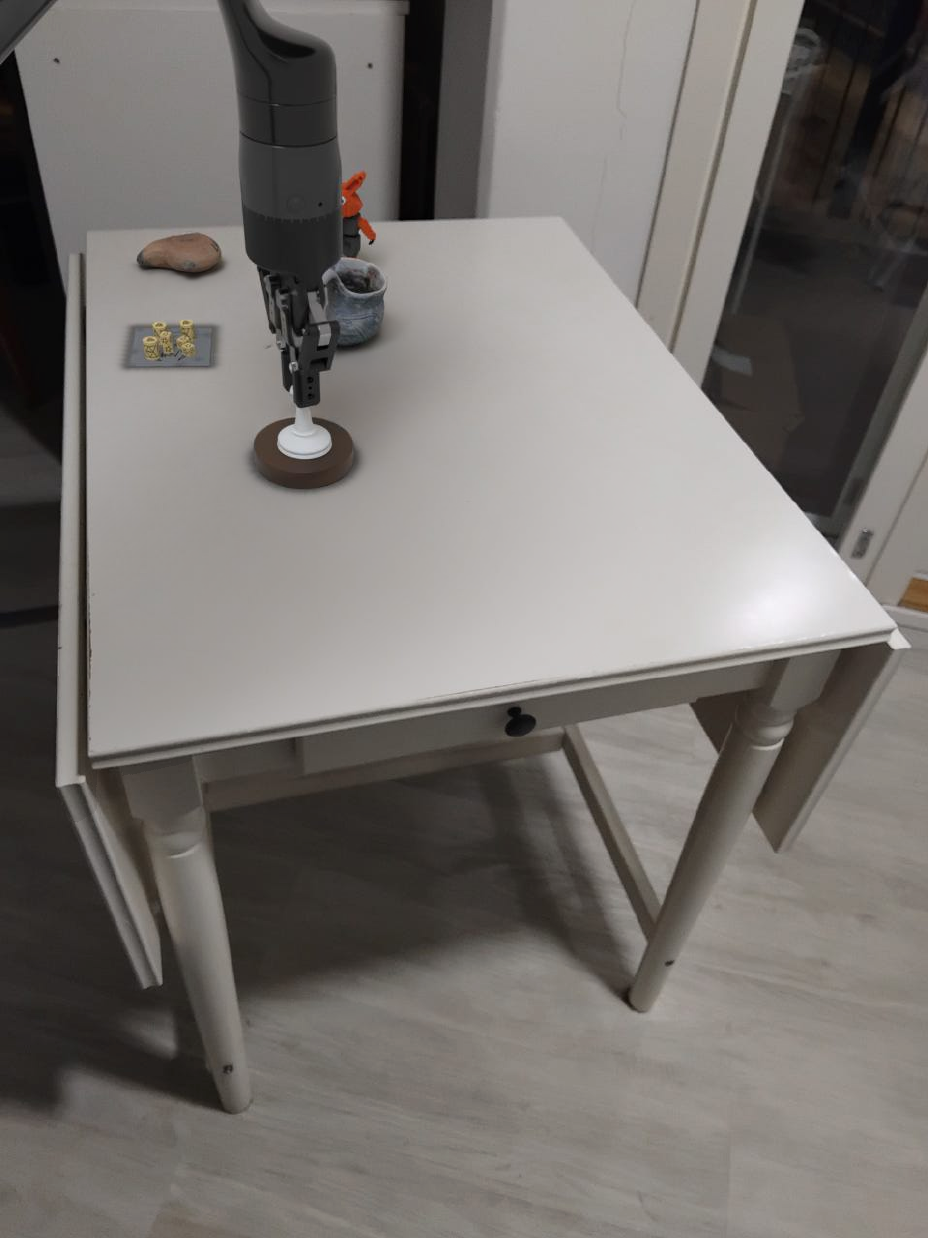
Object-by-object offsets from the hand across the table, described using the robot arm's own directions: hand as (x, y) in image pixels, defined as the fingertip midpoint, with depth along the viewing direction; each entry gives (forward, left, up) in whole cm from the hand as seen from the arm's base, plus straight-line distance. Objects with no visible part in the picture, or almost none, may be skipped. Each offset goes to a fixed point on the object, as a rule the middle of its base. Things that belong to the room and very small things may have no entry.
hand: (301, 395), depth 83 cm
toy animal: (+17, +34, -7) cm, 39 cm away
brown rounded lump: (0, +42, -7) cm, 43 cm away
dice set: (-6, +24, -7) cm, 26 cm away
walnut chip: (0, 0, -7) cm, 7 cm away
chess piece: (0, 0, -5) cm, 5 cm away
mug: (+11, +19, -7) cm, 23 cm away
